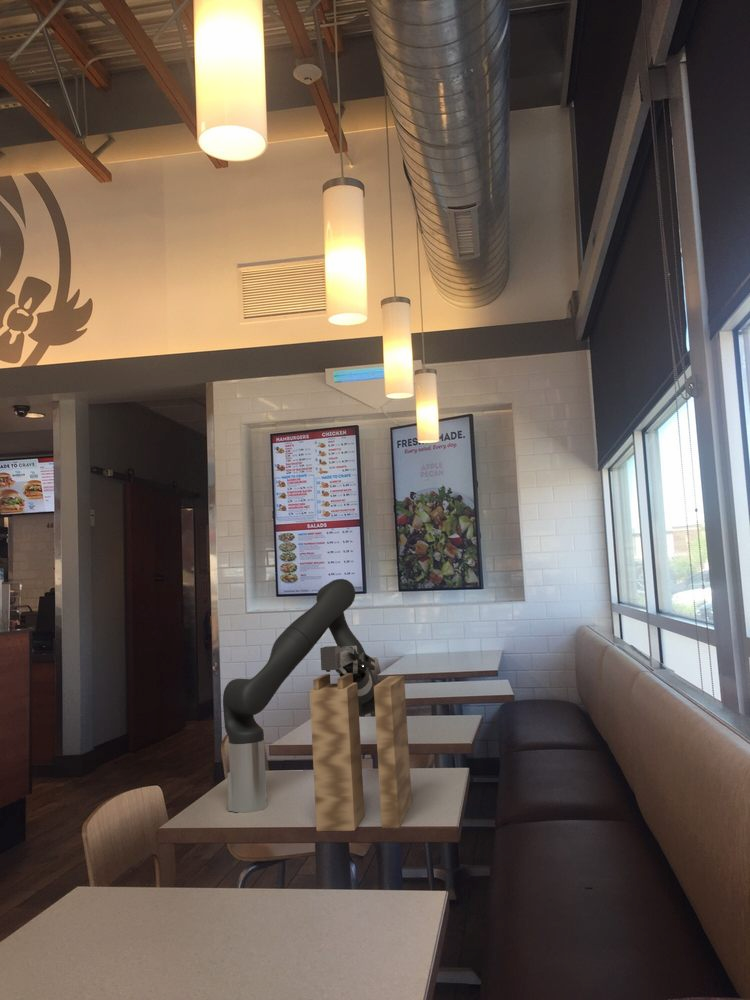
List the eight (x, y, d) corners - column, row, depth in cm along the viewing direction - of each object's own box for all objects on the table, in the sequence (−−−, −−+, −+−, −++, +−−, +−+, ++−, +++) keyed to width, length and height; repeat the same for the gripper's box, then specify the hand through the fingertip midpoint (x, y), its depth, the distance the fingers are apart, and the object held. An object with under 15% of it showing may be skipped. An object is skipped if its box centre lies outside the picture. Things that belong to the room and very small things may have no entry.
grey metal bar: (336, 669, 196) (334, 647, 197) (321, 670, 197) (320, 648, 198) (357, 659, 221) (356, 639, 222) (344, 660, 222) (343, 640, 222)
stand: (316, 830, 192) (309, 679, 196) (339, 803, 215) (332, 669, 219) (397, 830, 189) (388, 676, 192) (411, 802, 212) (403, 666, 216)
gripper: (332, 665, 229) (316, 638, 216) (382, 663, 227) (370, 635, 213) (330, 691, 225) (314, 665, 211) (381, 689, 223) (368, 663, 209)
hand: (342, 650), depth 212 cm, fingers closed on grey metal bar, 3 cm apart
